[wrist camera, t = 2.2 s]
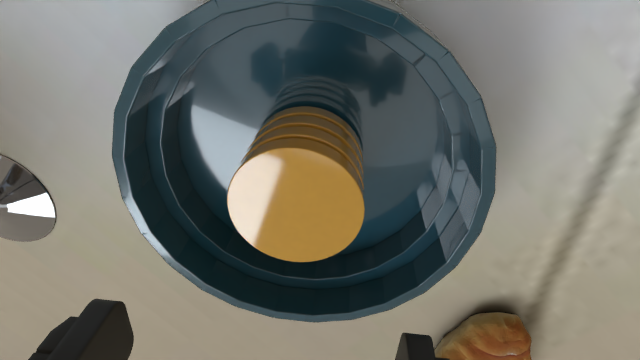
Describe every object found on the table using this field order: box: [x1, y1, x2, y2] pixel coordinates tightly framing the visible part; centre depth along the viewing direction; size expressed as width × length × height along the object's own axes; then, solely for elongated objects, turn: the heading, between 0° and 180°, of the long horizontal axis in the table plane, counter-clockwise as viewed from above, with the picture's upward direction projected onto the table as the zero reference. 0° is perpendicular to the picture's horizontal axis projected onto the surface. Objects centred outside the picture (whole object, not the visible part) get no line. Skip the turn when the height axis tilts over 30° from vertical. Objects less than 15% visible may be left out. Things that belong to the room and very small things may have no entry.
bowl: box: [112, 0, 496, 322], centre depth 20 cm, size 17×17×4 cm
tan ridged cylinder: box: [227, 106, 365, 262], centre depth 19 cm, size 6×6×5 cm
